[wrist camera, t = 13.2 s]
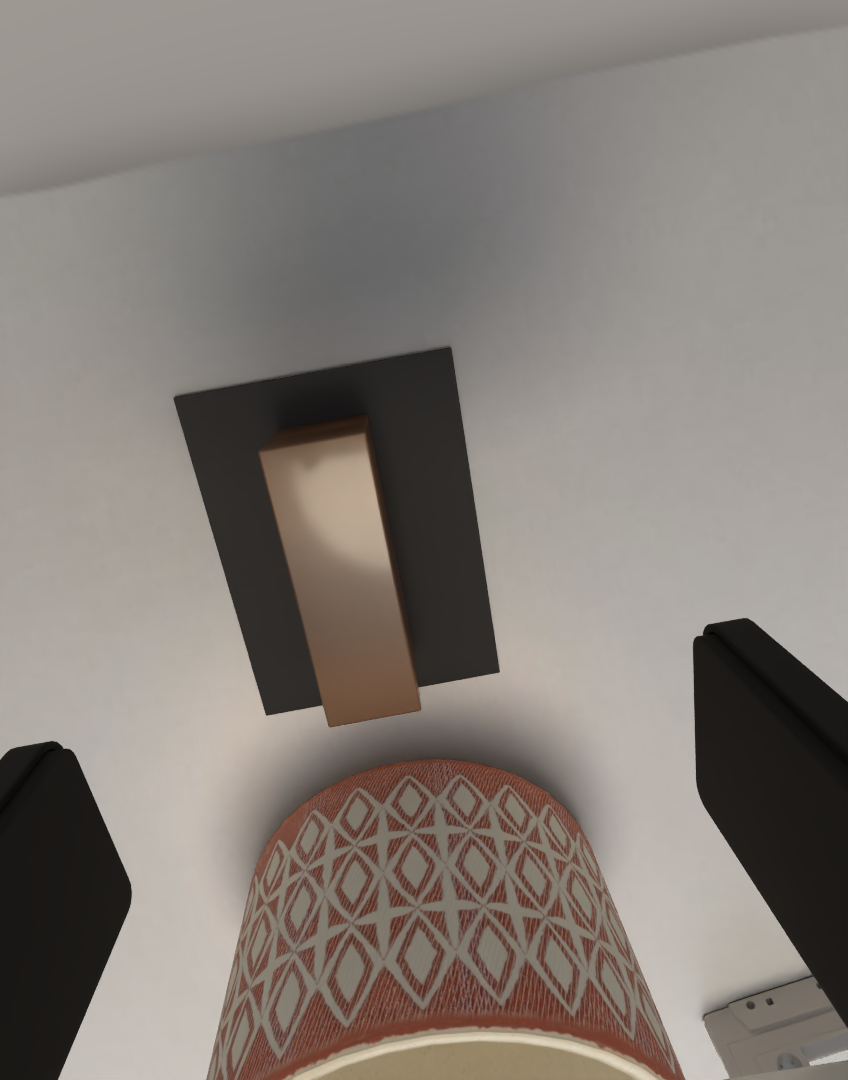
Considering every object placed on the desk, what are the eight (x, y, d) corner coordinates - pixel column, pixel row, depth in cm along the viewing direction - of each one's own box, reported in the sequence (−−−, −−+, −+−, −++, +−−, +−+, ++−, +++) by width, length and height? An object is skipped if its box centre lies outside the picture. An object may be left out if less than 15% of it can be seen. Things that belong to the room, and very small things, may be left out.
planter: (209, 783, 34) (91, 1106, 20) (565, 706, 34) (698, 975, 20) (304, 1030, 40) (265, 1408, 26) (606, 965, 40) (728, 1308, 26)
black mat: (175, 397, 28) (173, 397, 27) (450, 347, 28) (451, 347, 27) (267, 712, 33) (266, 715, 33) (498, 669, 33) (499, 672, 33)
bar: (277, 429, 28) (257, 451, 23) (367, 413, 28) (366, 431, 23) (335, 668, 32) (328, 728, 27) (415, 653, 32) (421, 711, 27)
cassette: (878, 952, 41) (984, 1085, 34) (881, 971, 42) (986, 1107, 35) (699, 1010, 42) (766, 1154, 35) (705, 1029, 43) (772, 1173, 35)
